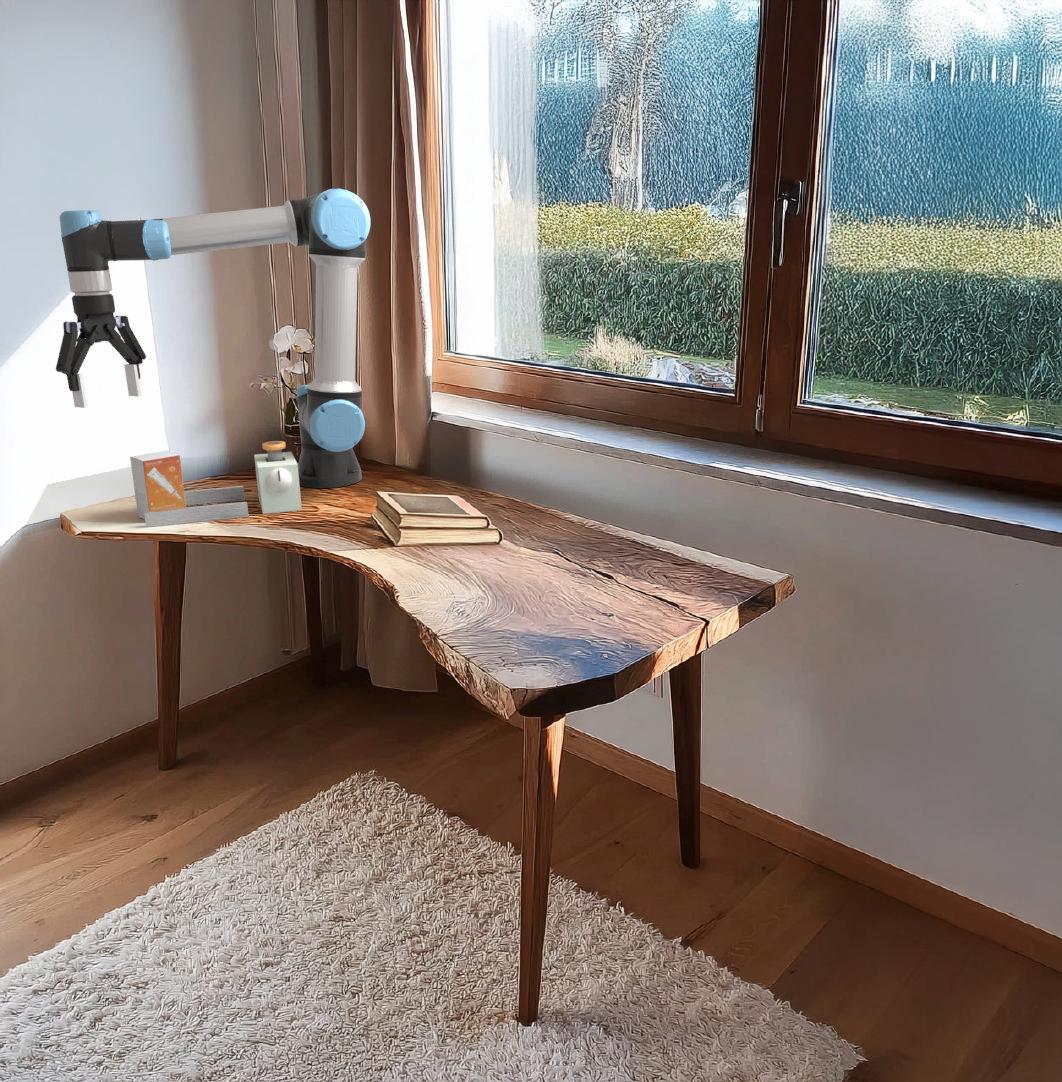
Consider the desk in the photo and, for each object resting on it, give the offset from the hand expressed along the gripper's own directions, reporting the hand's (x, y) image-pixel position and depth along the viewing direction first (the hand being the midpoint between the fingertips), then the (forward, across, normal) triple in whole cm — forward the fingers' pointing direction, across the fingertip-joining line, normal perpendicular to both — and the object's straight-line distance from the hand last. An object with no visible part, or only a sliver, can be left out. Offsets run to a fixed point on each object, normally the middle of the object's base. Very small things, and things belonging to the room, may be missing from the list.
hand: (108, 401), depth 199 cm
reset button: (+17, -20, +24) cm, 36 cm away
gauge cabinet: (+24, -20, +24) cm, 40 cm away
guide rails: (+24, -8, +12) cm, 28 cm away
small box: (+24, -3, +7) cm, 26 cm away
